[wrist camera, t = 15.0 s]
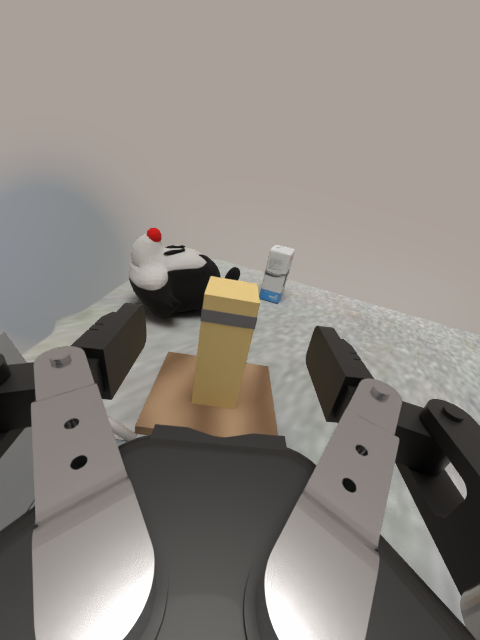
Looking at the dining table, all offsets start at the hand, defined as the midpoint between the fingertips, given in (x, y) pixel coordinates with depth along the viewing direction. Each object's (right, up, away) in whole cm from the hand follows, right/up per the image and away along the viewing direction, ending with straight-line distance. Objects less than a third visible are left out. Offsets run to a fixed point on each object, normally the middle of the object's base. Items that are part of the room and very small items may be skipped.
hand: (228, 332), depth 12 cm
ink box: (+8, +6, +51) cm, 52 cm away
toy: (-10, +3, +37) cm, 38 cm away
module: (-2, -8, +18) cm, 19 cm away
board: (-3, -9, +18) cm, 20 cm away
